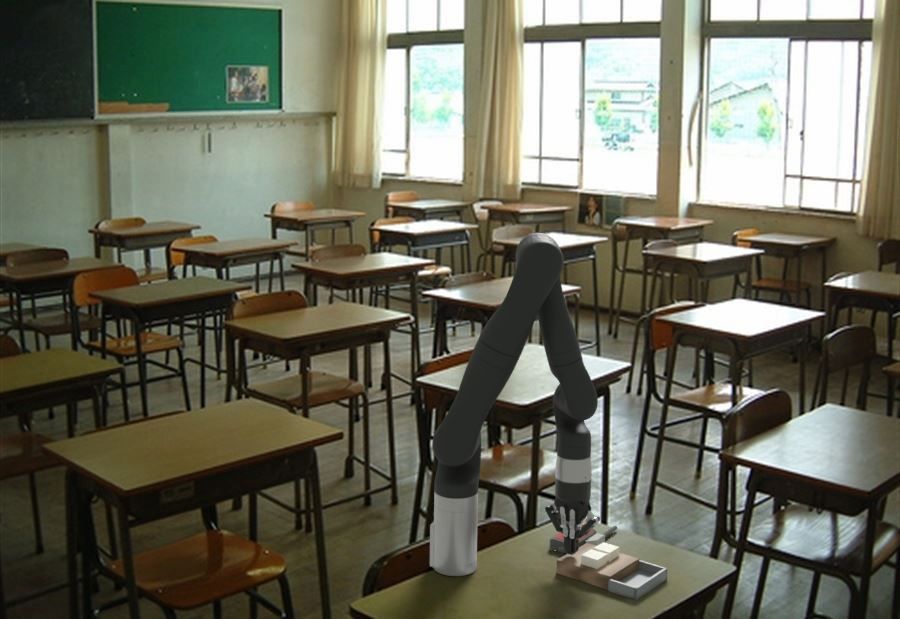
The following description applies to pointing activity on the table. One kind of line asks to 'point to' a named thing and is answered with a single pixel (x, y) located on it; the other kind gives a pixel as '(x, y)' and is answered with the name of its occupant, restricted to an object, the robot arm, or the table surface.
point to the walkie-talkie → (580, 539)
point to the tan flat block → (600, 576)
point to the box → (639, 581)
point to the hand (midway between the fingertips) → (571, 552)
